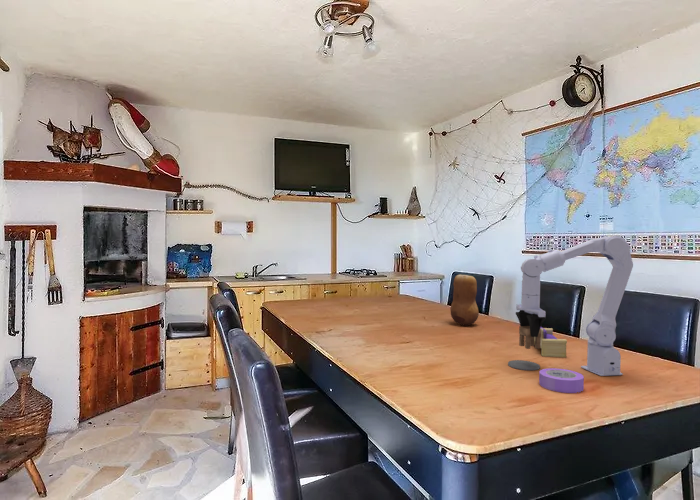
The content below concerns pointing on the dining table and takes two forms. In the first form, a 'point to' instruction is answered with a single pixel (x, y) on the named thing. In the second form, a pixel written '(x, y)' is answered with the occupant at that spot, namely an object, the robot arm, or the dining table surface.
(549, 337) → the toy sofa
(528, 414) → the dining table surface
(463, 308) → the butternut squash
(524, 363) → the mat
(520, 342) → the wooden toy stool
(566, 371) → the masking tape
